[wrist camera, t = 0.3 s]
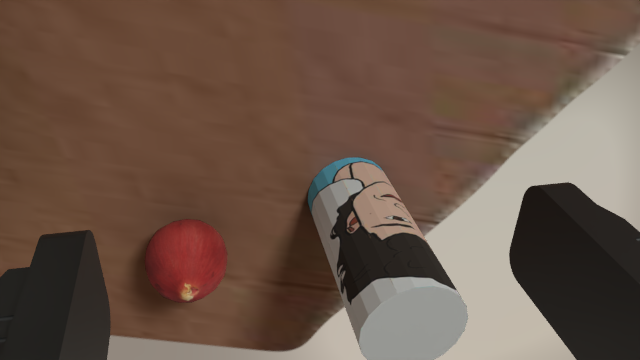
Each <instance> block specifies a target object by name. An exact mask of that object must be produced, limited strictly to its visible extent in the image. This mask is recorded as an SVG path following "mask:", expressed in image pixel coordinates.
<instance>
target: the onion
mask: <svg viewBox="0 0 640 360" xmlns="http://www.w3.org/2000/svg"><path fill="white" fill-rule="evenodd" d="M226 265H227V251H226V247H225V244H224V241H223V239H222V236H221V235H220V234H219V233H218V232H217V231H216V230H215V229H214V228H213V227H212V226H210V225H208V224H206V223H204V222H202V221H200V220H191V219H184V220H179V221H174V222H172V223H170V224H168V225H166V226H164V227H162V228H161V229H159V230H157V232H156V233H155V235H154V236H153V237H152V239H151V240H150V241H149V244H148V246H147V249H146V256H145V268H146V272H147V275H148V278H149V281H150V283H151V284H152V286H153V287H154V288H155V289H156V290H157V291H158V292H159V293H160V294H161V295H162V296H163V297H165V298H168V299H170V300H173V301H175V302H178V303H182V302H194V301H196V300H199V299H202V298H203V297H205V296H206V295H208V294H209V293H211V292H212V291H214V290H215V289H216V287H217V286H218V285H219V283H220V282H221V280H222V279H223V277H224V275H225V271H226Z"/></svg>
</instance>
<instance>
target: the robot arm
mask: <svg viewBox="0 0 640 360" xmlns="http://www.w3.org/2000/svg"><path fill="white" fill-rule="evenodd" d="M509 256H510V265H511V269H512V272H513V274H514V277H515V278H516V280H517V281H518V283H519V284H520V285H521V287H522V288H523V289H524V291H525V292H526V293H527V295H528V296H529V297H530V299H531V300H532V301H533V303H534V304H535V305H536V307H537V308H538V309H539V311H540V312H541V313H542V315H543V316H544V317H545V318H546V319H547V321H548V322H549V324H550V325H551V326H552V327H553V329H554V330H555V332H556V333H557V334H558V336H559V337H560V338H561V340H562V341H563V342H564V344H565V345H566V346H567V347H568V349H569V350H570V351H571V353H572V354H573V355H574V357H575V358H576V359H577V360H640V232H639V231H638V230H637V229H635V228H634V227H633V226H632V225H631V224H630V223H628V222H627V221H626V220H625V219H623V218H621V217H620V216H618V215H616V214H614V213H612V212H610V211H608V210H606V209H604V208H603V207H601V206H599V205H597V204H596V203H594V202H593V201H592V200H591V199H590V198H589V197H588V196H586V195H585V194H584V193H583V192H582V191H581V190H580V189H579V188H577V187H576V186H575V185H574V184H571V183H558V184H548V185H538V186H531V187H530V188H528V189H527V191H526V192H525V194H524V197H523V201H522V204H521V208H520V212H519V216H518V220H517V224H516V227H515V231H514V235H513V239H512V243H511V247H510V254H509ZM109 338H110V308H109V300H108V295H107V291H106V286H105V282H104V278H103V273H102V269H101V265H100V260H99V256H98V252H97V247H96V243H95V239H94V236H93V233H92V232H91V231H90V230H85V231H75V232H65V233H55V234H46V235H42V236H41V237H40V238H39V241H38V244H37V247H36V250H35V253H34V256H33V259H32V262H31V265H30V267H26V268H17V269H9V270H7V271H6V272H5V273H4V274H3V275H2V276H1V277H0V360H107V354H108V346H109Z"/></svg>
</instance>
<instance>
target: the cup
mask: <svg viewBox="0 0 640 360" xmlns="http://www.w3.org/2000/svg"><path fill="white" fill-rule="evenodd" d="M308 204H309V207H310V211H311V214H312V216H313V219H314V222H315V225H316V228H317V230H318V233H319V236H320V239H321V241H322V244H323V247H324V250H325V253H326V255H327V258H328V261H329V264H330V266H331V269H332V272H333V275H334V277H335V280H336V283H337V286H338V289H339V291H340V294H341V297H342V300H343V302H344V305H345V308H346V311H347V313H348V316H349V319H350V322H351V325H352V327H353V330H354V333H355V335H356V338H357V341H358V344H359V347H360V350H361V352H362V354H363V356H364V357H365V358H366V359H367V360H434V359H436V358H438V357H440V356H441V355H443V354H444V353H445V352H447V351H448V350H449V349H450V348H451V347H452V346H453V345H454V344H455V343H456V342H457V341H458V339H459V338H460V336H461V335H462V333H463V332H464V330H465V326H466V323H467V320H468V314H467V306H466V304H465V303H464V301H463V299H462V298H461V296H460V295H459V293H458V291H457V290H456V288H455V286H454V285H453V283H452V282H451V280H450V278H449V277H448V275H447V274H446V272H445V270H444V269H443V267H442V265H441V264H440V262H439V261H438V259H437V257H436V256H435V254H434V253H433V251H432V249H431V248H430V246H429V245H428V243H427V241H426V240H425V238H424V236H423V235H422V233H421V231H420V230H419V228H418V227H417V225H416V223H415V222H414V220H413V219H412V217H411V215H410V214H409V212H408V210H407V209H406V207H405V206H404V204H403V202H402V201H401V199H400V198H399V196H398V194H397V193H396V191H395V189H394V188H393V186H392V185H391V183H390V181H389V180H388V178H387V176H386V175H385V173H384V172H383V170H382V169H381V167H379V166H378V165H377V164H375V163H374V162H372V161H370V160H367V159H363V158H345V159H342V160H338V161H335V162H333V163H331V164H330V165H328V166H327V167H325V168H324V169H322V170H321V171H320V172H319V174H318V175H317V176H316V177H315V178H314V179H313V182H312V184H311V186H310V188H309V192H308Z"/></svg>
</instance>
